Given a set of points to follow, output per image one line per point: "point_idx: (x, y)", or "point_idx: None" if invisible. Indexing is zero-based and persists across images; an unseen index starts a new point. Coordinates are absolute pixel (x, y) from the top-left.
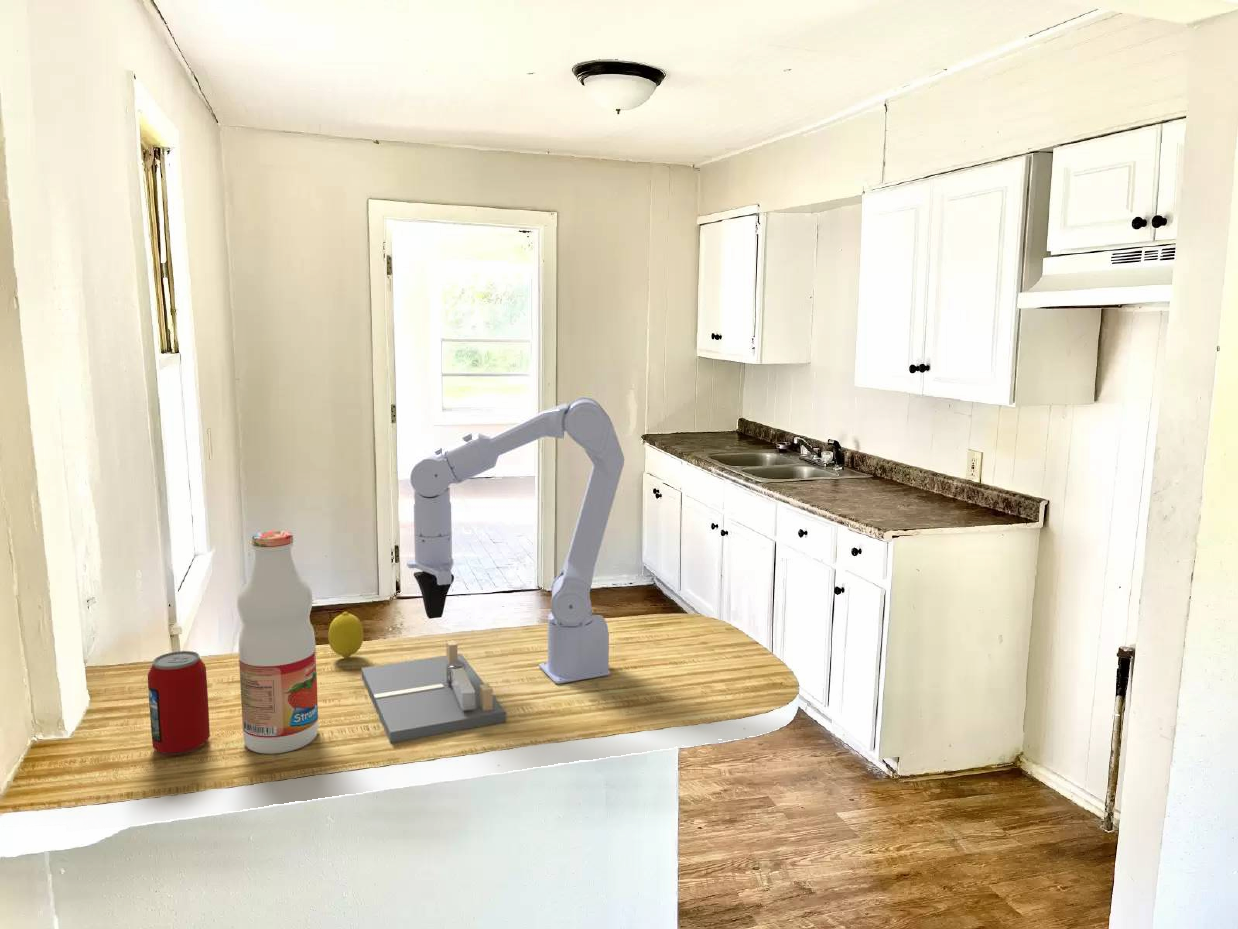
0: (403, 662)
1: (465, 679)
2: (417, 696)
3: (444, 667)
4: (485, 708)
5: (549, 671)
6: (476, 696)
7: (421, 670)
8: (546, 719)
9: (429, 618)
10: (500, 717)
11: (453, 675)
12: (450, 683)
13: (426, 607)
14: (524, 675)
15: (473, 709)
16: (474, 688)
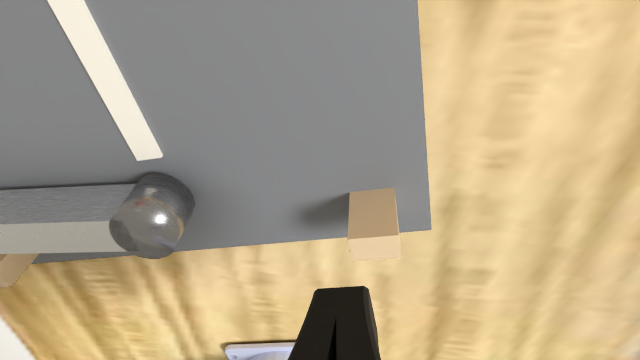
0: (409, 33)
1: (25, 246)
2: (57, 75)
3: (315, 175)
4: None
5: (275, 352)
6: None
7: (299, 101)
8: (60, 302)
9: (314, 292)
10: None
11: (62, 219)
12: (134, 184)
13: (295, 351)
14: (289, 311)
15: None
16: None
